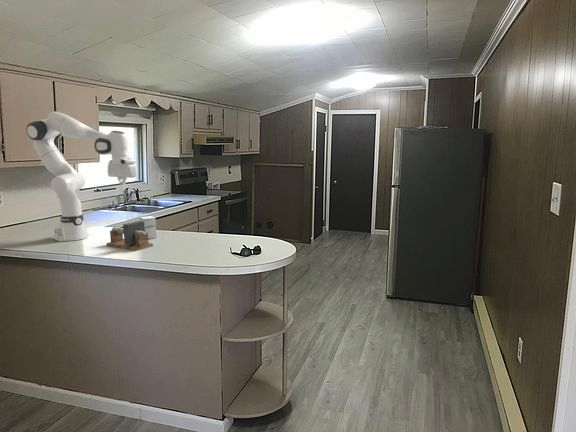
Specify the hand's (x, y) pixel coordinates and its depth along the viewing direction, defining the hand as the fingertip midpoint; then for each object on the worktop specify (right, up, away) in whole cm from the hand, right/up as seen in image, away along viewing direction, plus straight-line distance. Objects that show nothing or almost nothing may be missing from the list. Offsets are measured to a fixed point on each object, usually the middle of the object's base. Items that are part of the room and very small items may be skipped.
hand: (122, 185), depth 257 cm
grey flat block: (+9, -32, -5) cm, 34 cm away
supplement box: (+10, -31, +17) cm, 36 cm away
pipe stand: (+5, -34, -2) cm, 34 cm away
